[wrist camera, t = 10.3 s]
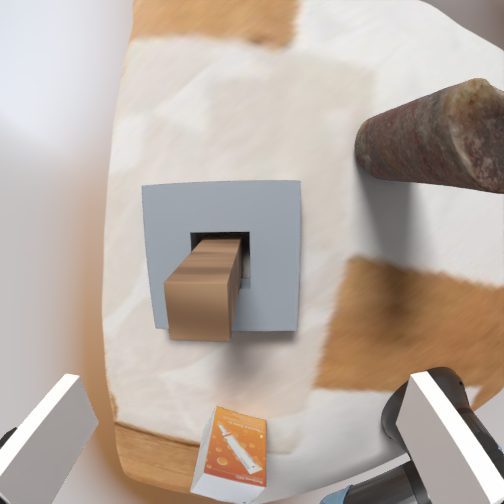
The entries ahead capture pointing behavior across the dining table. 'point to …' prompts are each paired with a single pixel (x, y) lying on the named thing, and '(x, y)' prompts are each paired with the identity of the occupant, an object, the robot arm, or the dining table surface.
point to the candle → (440, 139)
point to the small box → (231, 458)
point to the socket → (230, 220)
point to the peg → (205, 290)
